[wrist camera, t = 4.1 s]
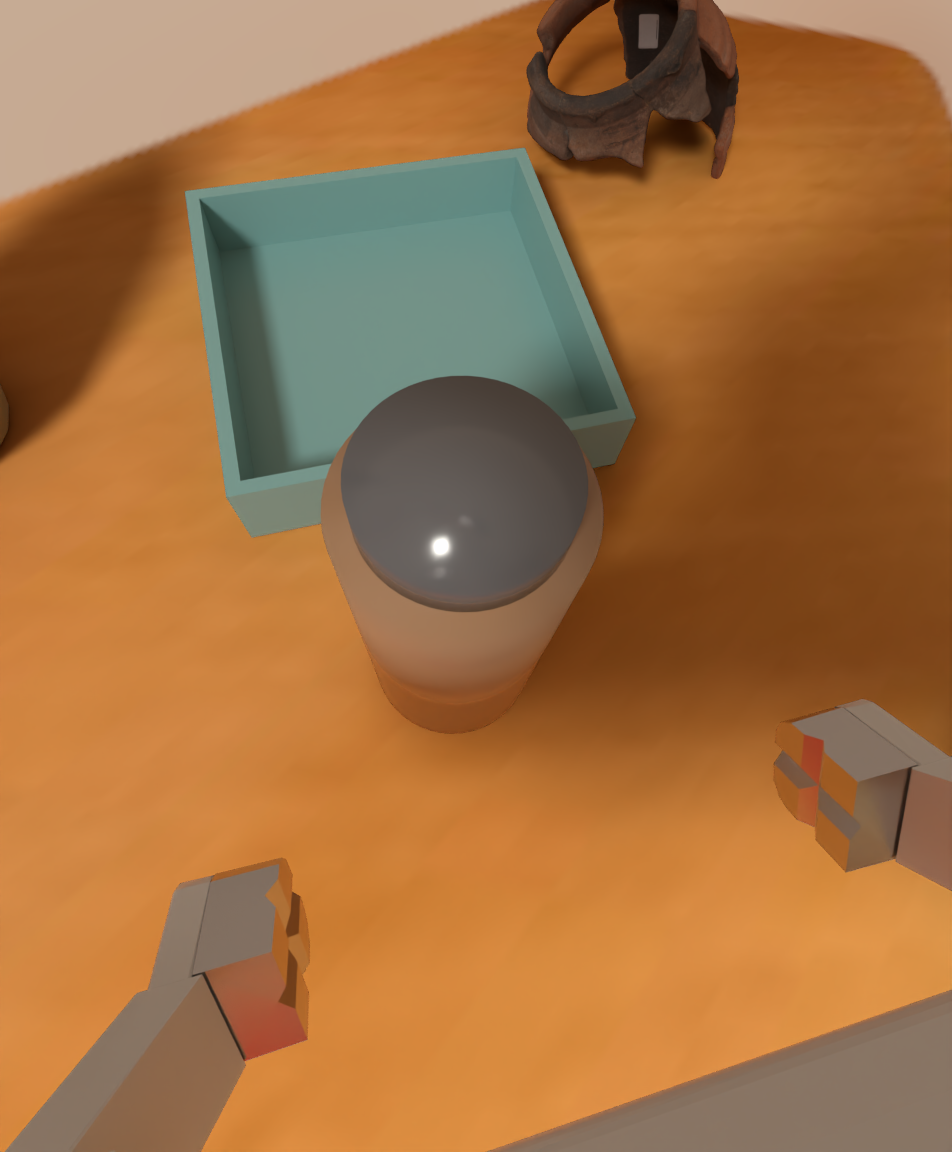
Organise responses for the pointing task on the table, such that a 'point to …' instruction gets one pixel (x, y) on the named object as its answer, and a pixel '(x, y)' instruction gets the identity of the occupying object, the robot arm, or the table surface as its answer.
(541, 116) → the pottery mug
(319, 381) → the tray
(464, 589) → the shaker
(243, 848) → the table surface
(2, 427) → the squeeze bottle
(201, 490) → the table surface
